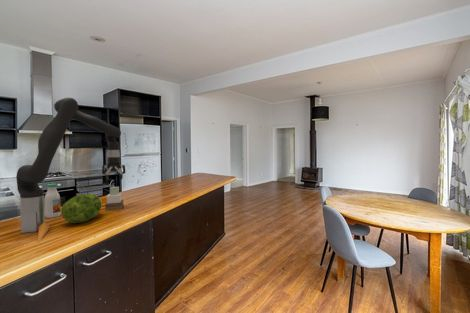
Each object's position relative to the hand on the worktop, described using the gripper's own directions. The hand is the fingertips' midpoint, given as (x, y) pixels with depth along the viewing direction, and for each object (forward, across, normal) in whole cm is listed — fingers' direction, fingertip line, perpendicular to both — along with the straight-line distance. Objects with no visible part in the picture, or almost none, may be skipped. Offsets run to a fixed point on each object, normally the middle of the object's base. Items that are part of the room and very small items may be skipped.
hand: (114, 179), depth 164 cm
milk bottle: (+20, -33, -9) cm, 40 cm away
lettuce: (+20, -12, -24) cm, 33 cm away
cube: (+10, 0, 0) cm, 10 cm away
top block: (+15, 0, 0) cm, 15 cm away
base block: (+20, 0, 0) cm, 20 cm away
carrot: (+20, -25, -46) cm, 56 cm away
